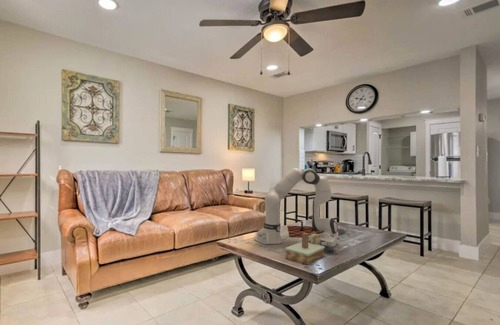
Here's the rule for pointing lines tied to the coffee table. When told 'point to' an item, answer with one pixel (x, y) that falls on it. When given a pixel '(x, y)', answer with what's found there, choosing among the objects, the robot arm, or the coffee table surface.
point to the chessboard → (302, 230)
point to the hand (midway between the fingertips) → (315, 242)
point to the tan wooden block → (315, 239)
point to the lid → (305, 247)
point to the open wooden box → (304, 257)
